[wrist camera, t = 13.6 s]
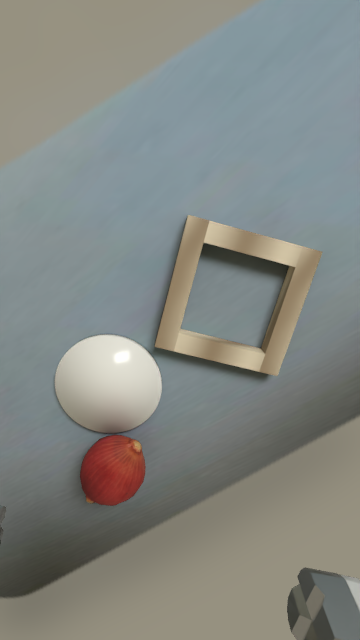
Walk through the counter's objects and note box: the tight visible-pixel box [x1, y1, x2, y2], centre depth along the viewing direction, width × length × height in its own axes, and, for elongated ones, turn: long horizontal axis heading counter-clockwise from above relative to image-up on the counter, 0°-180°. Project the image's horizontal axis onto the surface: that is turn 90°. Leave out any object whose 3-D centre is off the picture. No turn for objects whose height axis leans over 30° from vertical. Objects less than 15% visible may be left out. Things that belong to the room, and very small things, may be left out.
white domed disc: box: [55, 334, 162, 433], centre depth 31 cm, size 10×10×1 cm
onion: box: [80, 435, 145, 506], centre depth 31 cm, size 6×6×8 cm
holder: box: [155, 215, 322, 376], centre depth 29 cm, size 12×12×2 cm
